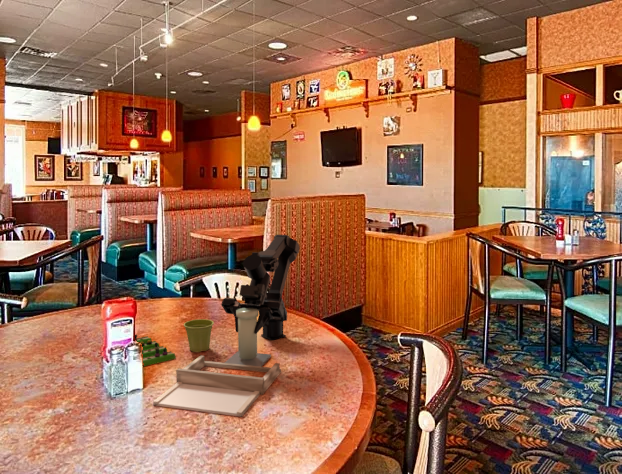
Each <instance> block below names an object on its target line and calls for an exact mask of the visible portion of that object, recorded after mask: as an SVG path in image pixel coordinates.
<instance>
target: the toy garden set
mask: <svg viewBox="0 0 622 474" xmlns="http://www.w3.org/2000/svg"><path fill="white" fill-rule="evenodd" d="M134 335H135V340H136V341H137V342H140V343H141V344H142V347H143V350H142V354H143V363H144V366H143V367H146V366H147V367H148V366H151V365H154V364H156V365H157V364H159V363H162V362H163V363H164V362H167V361H172V360H175V359H177V357H176V354H175V352H172V351H168V349H167V347H164V346H163V345H162V346H161V345H160V343H159V342H157V341H156V340H154V341H152V338H151V337H149V336H148V335H147V336H141V337H138V335H137V334H134Z"/></svg>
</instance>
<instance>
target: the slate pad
mask: <svg viewBox="0 0 622 474" xmlns="http://www.w3.org/2000/svg"><path fill="white" fill-rule="evenodd" d="M271 357H272V354H270V353H261V352H260V353H259V352H257V357H255V358H253V359H241V358H239V354H238V351H236V352H235V353H233V354H232V355H231V357H229V358H228V359H227V360H226V361H225V362H224V363H231V364H240V365H250V366H260V367H264V365H265V364H266V363H267V362H268V361H269V359H270V358H271Z"/></svg>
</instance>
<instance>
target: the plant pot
mask: <svg viewBox="0 0 622 474" xmlns="http://www.w3.org/2000/svg"><path fill="white" fill-rule="evenodd" d="M214 322H215V321H214V320H211V319H204V318H203V319H202V318H201V319H199V318H198V319H191V320H188V321H185V322H184V323H183V327H184V328H185V331H186V336H187V341H188V347H189V350H190V351H191V352H193V353H200V352H202V351H203V352H207V351H208V350H209V349H210V346H211V345H210V343H211V336H212V329H213V326H214V324H215V323H214Z"/></svg>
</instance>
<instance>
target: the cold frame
mask: <svg viewBox="0 0 622 474" xmlns="http://www.w3.org/2000/svg"><path fill="white" fill-rule="evenodd" d="M205 359H206V358H205V355H200V356H198V357H197V358H196V359H194V360H193V361H191V362H190V363H188V364H187V365H186V366H185V367H183V368H177V369H176V370H175V371H176V372H175V373H176V374H175V375H176V376H175V377H176V379H175V380H176V383H177V382H182V384H189V385H197V386H206V387H214V388H223V389H231V390H240V391H249V392H254V391H259V395H264V394H265V392H266V391H267V390H268V389H269V388H270V386H271V385H272V383H274V381H276V379H277V378H278V376H279V375H280V374H281V373H282V368H280V363H277V362H276V363H274V364H273V365H272V366H271V367H270V366H269V367H268V366H262V367H260V366H250V365H240V364H231V363H225V362H220V361H219V362H218V361H211V360H210V361H209V360H205ZM204 367H213V368H225V369H232V370H241V371H242V370H243V371H250V372H252V371H253V372H261V373H265V374H264V375H263V377H258V376H251V375H243V374H232V373H223V372H214V371H207V370H206V371H205V370H201V369H203V368H204Z"/></svg>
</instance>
